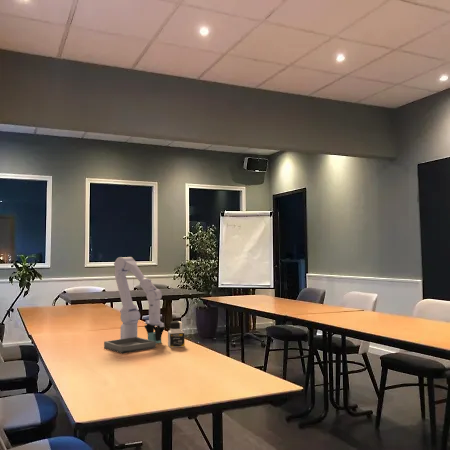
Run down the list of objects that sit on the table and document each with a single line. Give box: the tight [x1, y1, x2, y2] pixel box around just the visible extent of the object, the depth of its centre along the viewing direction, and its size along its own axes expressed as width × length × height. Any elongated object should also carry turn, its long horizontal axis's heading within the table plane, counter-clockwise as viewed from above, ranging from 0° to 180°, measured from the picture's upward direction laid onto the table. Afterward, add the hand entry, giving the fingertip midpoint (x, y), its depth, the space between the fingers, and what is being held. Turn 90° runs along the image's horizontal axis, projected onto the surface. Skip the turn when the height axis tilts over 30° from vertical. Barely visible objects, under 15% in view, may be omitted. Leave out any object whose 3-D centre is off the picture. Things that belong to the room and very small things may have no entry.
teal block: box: [147, 331, 162, 344], centre depth 237 cm, size 5×5×5 cm
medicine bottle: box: [167, 320, 186, 349], centre depth 228 cm, size 7×7×12 cm
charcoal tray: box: [103, 336, 157, 354], centre depth 224 cm, size 18×18×3 cm
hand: (154, 339), depth 237 cm, fingers open, 7 cm apart
